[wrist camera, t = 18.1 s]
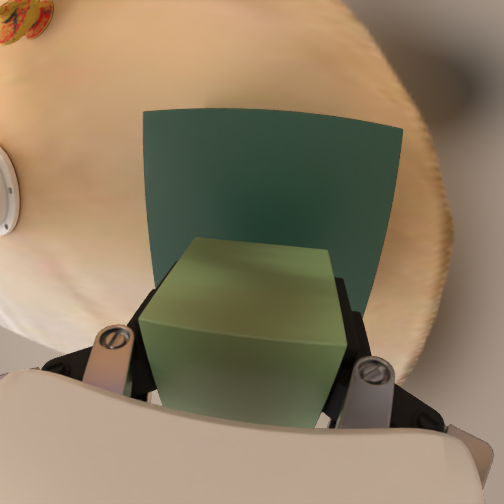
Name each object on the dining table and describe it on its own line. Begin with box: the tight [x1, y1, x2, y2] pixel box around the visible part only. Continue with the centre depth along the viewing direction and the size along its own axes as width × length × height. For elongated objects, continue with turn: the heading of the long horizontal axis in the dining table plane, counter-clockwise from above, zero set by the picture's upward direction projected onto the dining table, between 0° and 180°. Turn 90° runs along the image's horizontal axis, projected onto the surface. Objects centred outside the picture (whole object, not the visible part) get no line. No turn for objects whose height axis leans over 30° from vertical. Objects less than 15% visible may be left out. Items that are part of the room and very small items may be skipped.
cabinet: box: [143, 108, 403, 318], centre depth 20 cm, size 15×13×10 cm
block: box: [138, 237, 347, 428], centre depth 10 cm, size 5×5×5 cm
